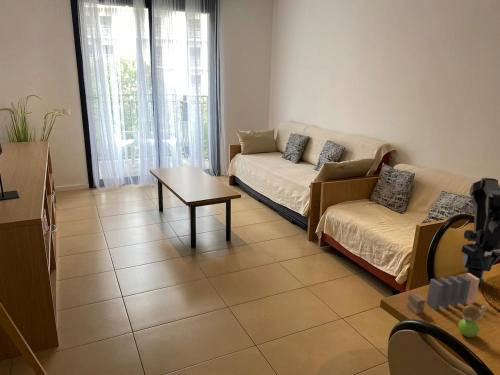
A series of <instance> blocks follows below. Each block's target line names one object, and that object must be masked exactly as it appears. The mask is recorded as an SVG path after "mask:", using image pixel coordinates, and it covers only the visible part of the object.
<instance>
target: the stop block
mask: <svg viewBox="0 0 500 375" xmlns="http://www.w3.org/2000/svg"><path fill="white" fill-rule="evenodd" d="M425 305H426V299H425V298H424V297H422V296H421V295H420V294H418V292H413V293H408V298H407V303H406V307H407V309H409V310H410V311H411V312H412V311H413V312H412V313H413V314H414V315H419V314H424V309H425Z"/></svg>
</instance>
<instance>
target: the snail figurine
mask: <svg viewBox="0 0 500 375" xmlns="http://www.w3.org/2000/svg"><path fill="white" fill-rule="evenodd" d="M488 305H489V303H488V302H487V301H486V302H485V305H482V306H481V309H480V310H479V308H478V307H477V306H474V305H465V307H463V309H462V314H463V315H461V318H462V319H461V320H460V321H459V322H458V325H457V326H458V331H459V332H460V333H461V334H462V335H463V336H465V337H467V338H474V337H476V336H477V335H478V334H479V331H480V327H479V324H478V323H477V321H479V320H481V319H482V318H483V316H484V315H485V313H486V311H487V309H488Z"/></svg>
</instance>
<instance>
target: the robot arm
mask: <svg viewBox="0 0 500 375" xmlns="http://www.w3.org/2000/svg"><path fill="white" fill-rule="evenodd" d="M469 196H470V201H471V204H472V205H473V207H474V220H473V230H469V229H466V230H465V231H464V234H463V238H464V239H465V240H467V242H472V243H467V244H463V245H462V246H461V250H460V251H461V252H462V253H463V254H464V256H463V257H462V264H463V267H464V268H466V270H465V275H463V276H464V277H466V273H470V274H472V275H474V276H475V277H477V278H479V279H480V281H479V285H478V288H481V286H482V285H483V283H484V282H485V279H484V278H483V277H484V272H490V271H491V269H492V266H493V265H494V264H496V262H497V261H499V260H500V184H499V180H498V179H496V178H493V177H492V178H490V177H482V178H481V179H480V180H478V181H475V182H473V183H472V184H471V186H470V188H469Z"/></svg>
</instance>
